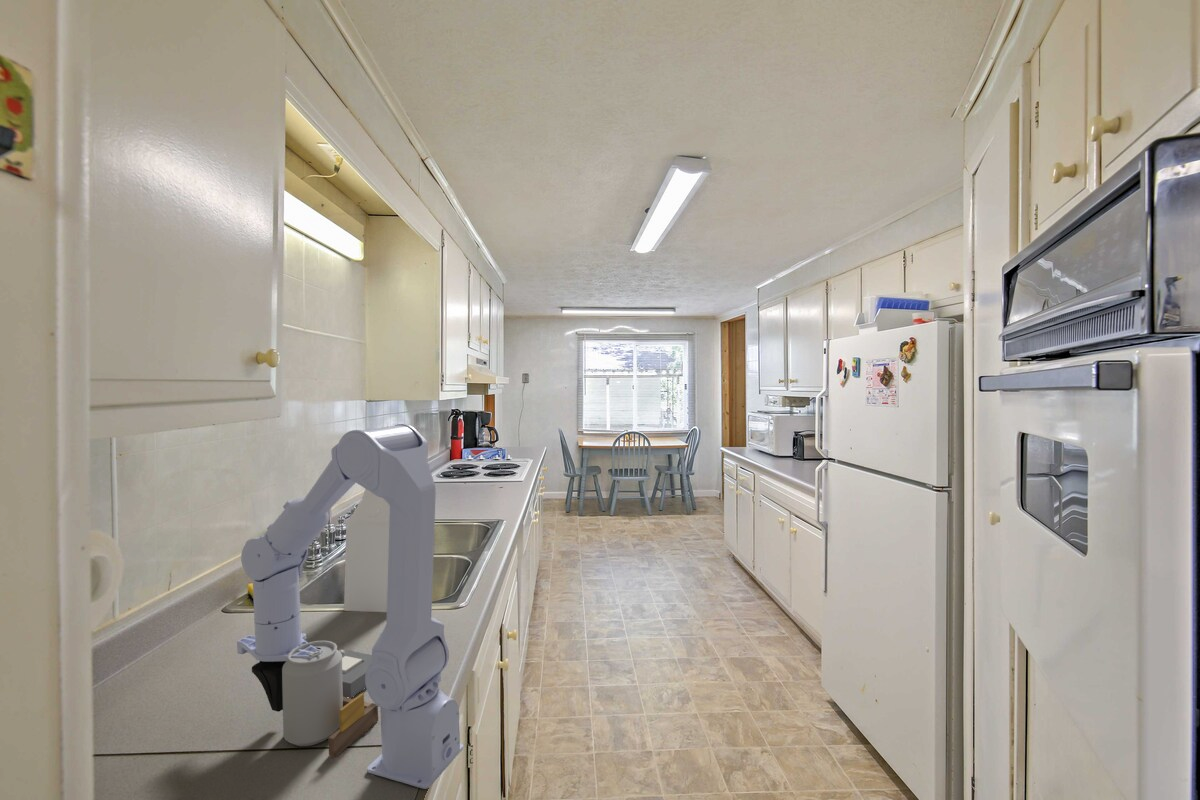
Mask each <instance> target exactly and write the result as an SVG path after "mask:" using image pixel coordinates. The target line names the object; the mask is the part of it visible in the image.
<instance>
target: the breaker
mask: <svg viewBox="0 0 1200 800" xmlns="http://www.w3.org/2000/svg"><path fill="white" fill-rule="evenodd" d="M361 663H362V659H358V658H353V657H348V656H345V657H343V658H342V673H344V674H346V673H348V672H349V671H351V670H352V669H354V668H355V667H357V666H358V665H360V664H361Z"/></svg>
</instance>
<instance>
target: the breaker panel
mask: <svg viewBox="0 0 1200 800" xmlns="http://www.w3.org/2000/svg"><path fill="white" fill-rule="evenodd" d="M337 650H338V649H337ZM338 651H340V652H341V654H342V658H343V657H345V656H348V657H353V658H358V659H362V663H361V664H360V665H358V666H357V667H355V668H354V669H352V670H351V671H349V672H348V673H346V674H344V673H342V686H343V697H349V698H352V697H353V696H355V695H356V694H357V693H359V692H360V691H361V690H363V689H364V688H365V689H366V684H365V675H366V671H367V669H368V667H369V665H370V663H371V659H372V654H369V653H364V652H358V651H353V650H348V649H343V648H340V649H339V650H338ZM365 689H364V690H365ZM364 690H363V691H364ZM361 692H362V691H361ZM361 692H360V693H361ZM360 693H359V694H360ZM357 695H358V694H357ZM357 695H356V696H357ZM356 696H355V697H356ZM353 698H354V697H353ZM353 698H352V699H353Z"/></svg>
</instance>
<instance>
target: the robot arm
mask: <svg viewBox="0 0 1200 800" xmlns="http://www.w3.org/2000/svg"><path fill="white" fill-rule="evenodd" d="M428 453H429V442H428V440H427V439H426V438H425V437H424V436H423V435H422V434H421V433H420V432H419V431H418V429H416V428H415V427H414V426H412V425H410V424H407V423H398V424H396V425H391V426H390V425H389V426H385V427H384V426H383V427H376V428H369V429H352V430H349V431H348V432H345V433H344V435H343V436H341V437H340V440H339V441H338V443H337V444H335V446H333V447H332V448H331V460H330V461H329V463H328V465H326V467H325V469H324V470H323V471H322V473H321V474H320V476H319V477H318V479H317V480H316V482H315V483H314V484H313V486H312V487H311V488H310V490H309V492H308V493H307V495H305V496H303V497H298V498H295V499H291V500H287V501H286V502H285V504H284V505H283V506H282V507H283V511H282V512H281V513H280V515H279V516H278V517H277V518H276V519H275V521H274V522H273V523H270V524H269V525H268V527H267V530H266V532H265V533H264V534H263V535H260V537H253V538H250V539H248V540H247V541H245V544H244V546H243V548H242V551H241V555H240V557H241V558H240V559H241V565H242V569H243V570H244V572H245V574H246V575H247V576H248V577H249V578H250V579H252V597H253V600H252V601H253V617H254V618H253V620H254V635H251V634H248V635H247V636H245V637H243V638H240V639H237V640H236V650H237V651H236V652H237V655H244V654H246V653H248V654H250V655H251V656H252V658H254V659H255V660H257V661H258V662H257V663H255V664H253V666H251V673H252V674H254V675H255V677H256V678H257V680H258V681H259V683H261V686H262V688H263V691H264V692H265V694H266V697H267V699H268V703H269V705H270V707H271V710H272V711H275V712H278V713H279V712H281V711H283V690H282V668H283V665H284V664H285V662H286V661H287V660H288V659H287V657H288V654H289V653H290V652H291V651H292V650H293V649H295V648H296V647H298V646H301V645H303V644H306V643H309V642H308V641H307V634H306V633H304V632H303V633H302V624H301V622H302V619H301V618H302V617H301V598H300V597H301V596H300V579H301V578H302V576H303V566H304V565H305V562H306V560H307V559H308V555H309V546H310V545H311V544H312V543H313V542H314V541H315V540H316V538H317V537H318V536H319V535H320V534H321V532H322V531H323V530H324V529H325V528H326V526H328V524H329V520H330V515H329V511H330V510H331V508H332V507H333V506H335V505H336V503H338V501H340V499H341V498H343V496H344V495H345V494H346V493H348V491H349V490H350V489H351V488H352V487H353V486H354V485H355V484H357V485H359V486H361V487H362V488H363V489H364V490H365V489H367V490H368V491H370V492H372V493H373V494H375V495H376V496H378V497H382V498H383V499H384V500H385V501H386V502H387V503H388V504H389V505H390V517H389V552H388V586H387V612H386V621H385V622H386V624H385V626H384V628H383V630H382V632H381V633H380V634H379V637H378V638H377V640H376V642H375V643H374V645H373V647H372V648H371V649H372V650H371V655H372V659H371V663H370V665H369V667H368V669H367V671H366V675H365V684H366V688H365V690H366V691H367V693H368V696H369V697H370V699H371V700H372V701H373V703H374V704H376V706H378V708H380V732H381V733H380V734H381V735H380V736H381V740H380V741H381V753H380V754H379V755H378V757H376V758H375V759H374V760H373V761H371V763H370V764H369V765H368V766H367V767H366V772H367V773H369V774H372V775H376V776H379V777H382V778H386V779H389V780H393V781H395V782H400V783H402V784H406V785H408V786H409V785H410V786H413V787H416V788H420V789H423V790H427V789H430V787H431V786H432V785H433V784H434V783H435V781H436V780H438V778H439V777H440V776H441V775H442V774H443V773H444V771H445V770H446V769H447V768H448V767H449V766H450V764H451V763H452V762H453V761H454V760H455V759H456V758H457V756H459V754H460V753H461V752H462V751H463V750H464V744H463V743H461V739H460V735H461V734H460V709H459V705H458V702H457V701H456V700H455V699H453V698H452V697H449V696H448V695H446V694H445V693H444V692H443V691H442V690H441V689H440V687H439V683H440V682H441V681H442V679H441V678H442V675H441V673H442V671H444V670H445V668H446V667H447V665H448V662H449V659H450V650H449V647H448V643H447V641H446V639H445V624H443V622H441V621H440V620H439V619H436V618H435V617H432V614H433V613H432V611H433V610H432V609H433V608H432V606H433V582H434V581H433V578H434V556H435V555H434V554H435V553H434V552H435V528H436V527H435V525H436V522H435V520H436V499H437V498H436V494H437V491H436V485H435V481H434V478H433V474H432V472H431V468H430V466H429V462H428V456H429V454H428ZM310 648H312V649H310ZM311 651H320V652H321V653H322V652H323V650H320V649H317V648H315V647H313V646H312V645H310V646H309V647H307V648H306V649H304V650H302V649H298V651H297V652H299V653H297V654H295V655H291V657H297V658H309V659H312V658H314V657H316V656H314V657H311V656H309V655H308V654H307V653H309V654H311V653H314V652H311ZM314 655H315V654H314Z"/></svg>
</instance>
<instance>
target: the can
mask: <svg viewBox="0 0 1200 800" xmlns="http://www.w3.org/2000/svg"><path fill="white" fill-rule="evenodd" d="M310 645H312V646H313V647H315V648H317V649H320V650H323V652H322V653H321V652H320V651H311V652H314V653H311V654H309V653H307V654H308V655H309V656H311V657H314V656H316V657H314V658H312V659H309V658H297V657H291V655H295V654H297V653H299V652H297V651H298V649H302V650H304V649H306V648H307V647H309V646H310ZM310 649H312V648H310ZM314 654H315V655H314ZM287 659H288V660H287V661H286V662H285V664H284V665H283V668H282V690H283V710H282V728H283V729H282V733H283V734H282V736H283V737H284V740H285V741H287V742H288V743H290V744H292V745H294V746H297V747H298V746H299V747H310V746H314V745H317V744H320V743H321V742H322V743H323V742H324V741H326V740H328V737H330V736H331V735H332V734H334V733H335V732H336V731H337V730H339V729H340V715H339V710H340V709H341V708H343V686H342V654H341V652H340V651H338V645H337V644H336V642H333V641H330V640H315V641H310V642H308V643H306V644H303V645H301V646H298V647H296V648H295V649H293V650H292V651H291V652H290V653H289V654H288V657H287Z"/></svg>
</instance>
